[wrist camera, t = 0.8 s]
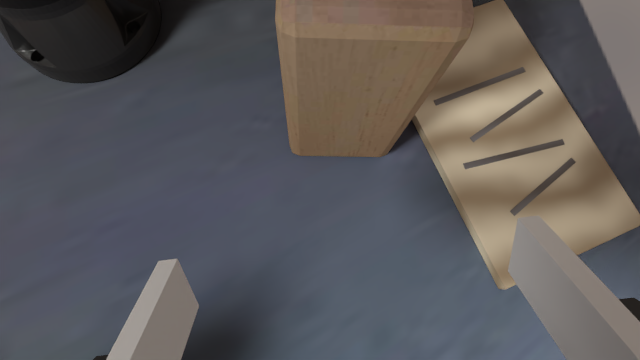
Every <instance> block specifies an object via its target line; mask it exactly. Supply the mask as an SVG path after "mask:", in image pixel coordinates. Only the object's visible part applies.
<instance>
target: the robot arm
mask: <svg viewBox="0 0 640 360" xmlns="http://www.w3.org/2000/svg"><path fill="white" fill-rule="evenodd" d="M160 25H161V9H160V4H159V1H158V0H0V31H1V33H2V35H3V36H4V38H5V39H6V41H7V42H8V44H9V45H10V47H11V48H12V49H13V50H14V51H15V52H16V53H17V54H18V55H19V56H20V57H21V58H22V59H23V60H25V61H26V62H27V63H29V64H30V65H31V66H33V67H34V68H35V69H36V70H38V71H39V72H41V73H42V74H44V75H46V76H48V77H50V78H53V79H56V80H59V81H63V82H70V83H91V82H97V81H102V80H105V79H109V78H111V77H114V76H116V75H119V74H121V73H123V72H124V71H126V70H128V69H129V68H131V67H132V66H134V65H135V64H136V63H138V62H139V61H140V60H141V59H142V58H143V57H144V56H145V55H146V54H147V52H148V51H149V50H150V48H151V47H152V45H153V44H154V42H155V40H156V38H157V36H158V33H159V29H160ZM508 272H509V274H510V275H511V277H512V278H513V280H514V281H515V283H516V284H517V286H518V287H519V289H520V290H521V292H522V293H523V295H524V296H525V298H526V299H527V301H528V302H529V304H530V305H531V307H532V308H533V310H534V311H535V313H536V314H537V316H538V317H539V319H540V320H541V322H542V323H543V325H544V326H545V328H546V329H547V331H548V332H549V334H550V335H551V337H552V338H553V340H554V341H555V343H556V344H557V346H558V347H559V349H560V350H561V352H562V353H563V355H564V356H565V358H566V359H567V360H640V301H638V300H637V299H635V298H627V299H618V298H617V297H616V296H615V295H614V294H613V293H612V292H611V291H610V290H609V289H608V288H607V287H606V286H605V285H604V284H603V282H602V281H601V280H600V279H599V278H598V277H597V276H596V275H595V274H594V273H593V272H592V271H591V270H590V269H589V268H588V267H587V266H586V265H585V264H584V262H583V261H582V260H581V259H580V258H579V257H578V256H577V255H576V254H575V253H574V252H573V251H572V250H571V249H570V248H569V247H568V246H567V245H566V244H565V242H564V241H563V240H562V239H561V238H560V237H559V236H558V235H557V234H556V233H555V232H554V231H553V230H552V229H551V228H550V227H549V226H548V225H547V224H546V223H545V221H544V220H543V219H542V218H541V217H540V216H539V215H538V216H530V217H521V218H518V220H517V225H516V231H515V236H514V241H513V246H512V252H511V257H510V262H509V268H508ZM198 308H199V305H198V302H197V300H196V298H195V296H194V294H193V292H192V289H191V287H190V285H189V283H188V281H187V278H186V276H185V274H184V272H183V270H182V267H181V265H180V263H179V261H178V259H171V260H163V261H158V263H157V265H156V267H155V269H154V271H153V272H152V274H151V276H150V278H149V280H148V282H147V284H146V286H145V287H144V289H143V291H142V293H141V295H140V297H139V299H138V301H137V302H136V304H135V306H134V308H133V310H132V312H131V314H130V316H129V317H128V319H127V321H126V323H125V325H124V327H123V329H122V331H121V332H120V334H119V336H118V338H117V340H116V342H115V344H114V346H113V347H112V349H111V351H110V353H109V355H104V356H96V357H95V358H94V359H93V360H181V358H182V355H183V352H184V349H185V346H186V343H187V340H188V337H189V334H190V331H191V329H192V326H193V323H194V320H195V317H196V314H197V311H198Z"/></svg>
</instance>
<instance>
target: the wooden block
mask: <svg viewBox="0 0 640 360" xmlns="http://www.w3.org/2000/svg"><path fill="white" fill-rule="evenodd" d="M275 21H276V30H277V39H278V48H279V56H280V65H281V74H282V82H283V91H284V100H285V109H286V117H287V126H288V135H289V143H290V148H291V150H292V153H294V154H297V155H299V156H349V157H381V156H384V155H387V154H388V152H389V151H390V149H391V148H392V147H393V145H394V144H395V142H396V141H397V139H398V138H399V137H400V135H401V134H402V132H403V131H404V130H405V128H406V127H407V125H408V124H409V122H410V121H411V120H412V118H413V117H414V115H415V114H416V112H417V111H418V110H419V108H420V107H421V105H422V104H423V103H424V101H425V100H426V98H427V97H428V95H429V94H430V93H431V91H432V90H433V88H434V87H435V85H436V84H437V83H438V81H439V80H440V78H441V77H442V76H443V74H444V73H445V71H446V70H447V68H448V67H449V66H450V64H451V63H452V61H453V60H454V58H455V57H456V56H457V54H458V53H459V51H460V50H461V49H462V47H463V46H464V44H465V43H466V41H467V40H468V39H469V37H470V34H471V31H472V28H473V24H474V10H473V2H472V0H276V14H275Z"/></svg>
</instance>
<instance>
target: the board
mask: <svg viewBox="0 0 640 360" xmlns="http://www.w3.org/2000/svg"><path fill="white" fill-rule="evenodd" d="M473 10H474V24H473V28H472V31H471V34H470V37H469V39H468V40H467V41H466V43H465V44H464V46H463V47H462V49H461V50H460V51H459V53H458V54H457V56H456V57H455V58H454V60H453V61H452V63H451V64H450V66H449V67H448V68H447V70H446V71H445V73H444V74H443V76H442V77H441V78H440V80H439V81H438V83H437V84H436V85H435V87H434V88H433V90H432V91H431V93H430V94H429V95H428V97H427V98H426V100H425V101H424V103H423V104H422V105H421V107H420V108H419V110H418V111H417V112H416V114H415V115H414V117H413V118H412V121H413V123H414V125H415V127H416V129H417V131H418V133H419V135H420V137H421V139H422V141H423V143H424V144H425V146H426V148H427V150H428V152H429V154H430V156H431V158H432V160H433V162H434V164H435V166H436V168H437V170H438V172H439V174H440V176H441V178H442V180H443V181H444V183H445V185H446V187H447V189H448V191H449V193H450V195H451V197H452V199H453V201H454V203H455V205H456V207H457V209H458V211H459V213H460V215H461V216H462V218H463V220H464V222H465V224H466V226H467V228H468V230H469V232H470V234H471V236H472V238H473V240H474V242H475V244H476V246H477V248H478V250H479V252H480V253H481V255H482V257H483V259H484V261H485V263H486V265H487V267H488V269H489V271H490V273H491V275H492V277H493V279H494V281H495V283H496V285H497V287H498V289H508V288H510V287H512V286H514V285H516V283H515V281H514V280H513V278H512V277H511V275H510V274H509V272H508V268H509V262H510V257H511V252H512V246H513V241H514V236H515V231H516V225H517V220H518V218H521V217H530V216H538V215H539V216H540V217H541V218H542V219H543V220H544V221H545V223H546V224H547V225H548V226H549V227H550V228H551V229H552V230H553V231H554V232H555V233H556V234H557V235H558V236H559V237H560V238H561V239H562V240H563V241H564V242H565V244H566V245H567V246H568V247H569V248H570V249H571V250H572V251H573V252H574V253H575V254H576V255H579V254H581V253H583V252H585V251H587V250H590V249H592V248H594V247H596V246H598V245H600V244H602V243H604V242H606V241H609V240H611V239H613V238H615V237H617V236H619V235H621V234H623V233H625V232H627V231H630V230H632V229H634V228H636V227H638V226H640V214H639V212H638V211H637V209H636V208H635V206H634V204H633V203H632V201H631V200H630V198H629V197H628V195H627V193H626V192H625V190H624V189H623V187H622V186H621V184H620V182H619V181H618V179H617V178H616V176H615V175H614V173H613V171H612V170H611V168H610V167H609V165H608V164H607V162H606V160H605V159H604V157H603V156H602V154H601V153H600V151H599V149H598V148H597V146H596V145H595V143H594V142H593V140H592V138H591V137H590V135H589V134H588V132H587V131H586V129H585V127H584V126H583V124H582V123H581V121H580V120H579V118H578V116H577V115H576V113H575V112H574V110H573V109H572V107H571V105H570V104H569V102H568V101H567V99H566V98H565V96H564V94H563V93H562V91H561V90H560V88H559V86H558V85H557V83H556V82H555V80H554V79H553V77H552V75H551V74H550V72H549V71H548V69H547V68H546V66H545V64H544V63H543V61H542V60H541V58H540V57H539V55H538V53H537V52H536V50H535V49H534V47H533V46H532V44H531V42H530V41H529V39H528V38H527V36H526V35H525V33H524V31H523V30H522V28H521V27H520V25H519V24H518V22H517V20H516V19H515V17H514V16H513V14H512V13H511V11H510V9H509V8H508V6H507V5H506V3H505V2H504V0H494V1H491V2H488V3H486V4H483V5H480V6H477V7H474V8H473Z"/></svg>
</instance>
